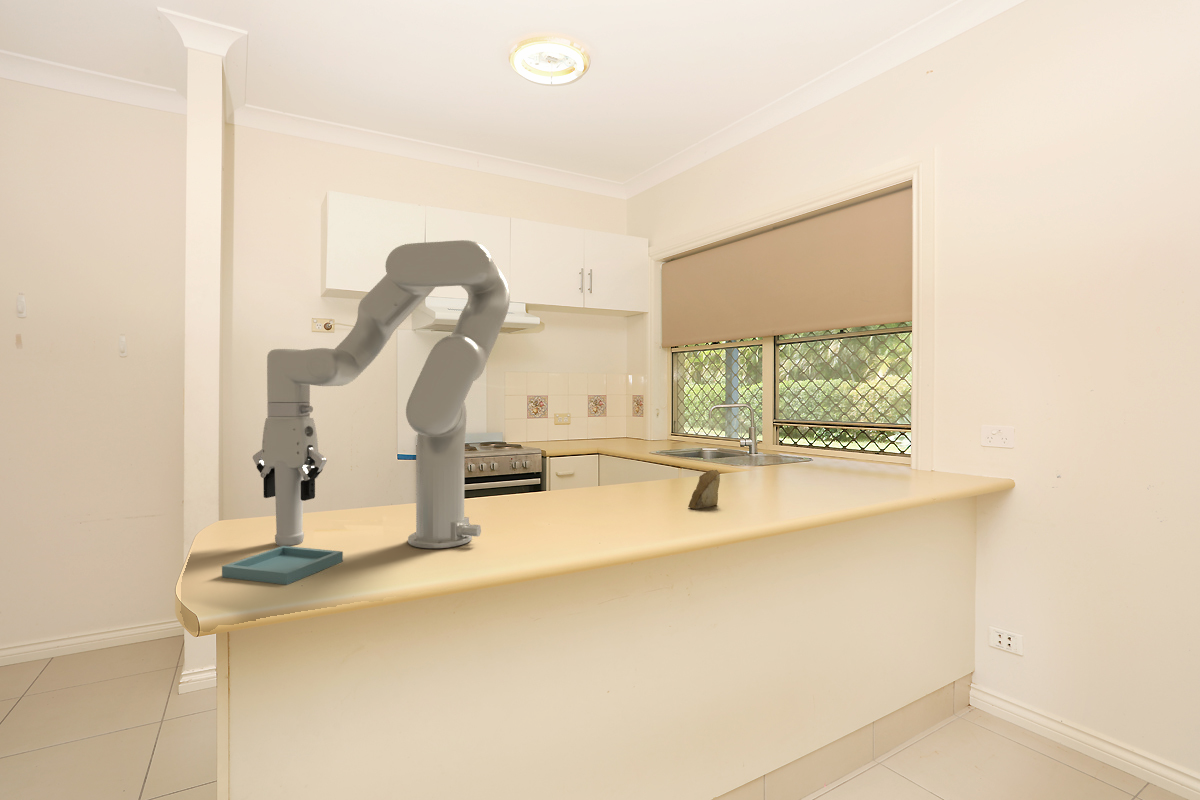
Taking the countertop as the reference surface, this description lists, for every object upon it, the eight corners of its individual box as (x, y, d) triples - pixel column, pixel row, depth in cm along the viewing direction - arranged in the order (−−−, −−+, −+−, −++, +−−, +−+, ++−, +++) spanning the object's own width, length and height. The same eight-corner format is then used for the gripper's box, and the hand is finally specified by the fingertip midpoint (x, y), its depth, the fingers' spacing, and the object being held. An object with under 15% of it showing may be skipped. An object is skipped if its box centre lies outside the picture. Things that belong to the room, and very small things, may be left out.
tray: (342, 561, 107) (342, 551, 107) (287, 584, 95) (287, 573, 95) (283, 555, 111) (283, 545, 111) (222, 577, 98) (221, 566, 98)
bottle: (274, 547, 116) (273, 419, 115) (275, 541, 120) (274, 417, 120) (304, 544, 118) (303, 418, 118) (303, 538, 123) (303, 417, 122)
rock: (695, 503, 151) (730, 496, 154) (683, 474, 156) (717, 467, 159) (684, 520, 160) (717, 513, 163) (673, 492, 164) (705, 486, 167)
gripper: (338, 411, 120) (339, 497, 120) (268, 409, 125) (268, 492, 125) (311, 413, 113) (312, 504, 113) (237, 411, 117) (238, 499, 118)
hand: (289, 497), depth 119 cm, fingers open, 8 cm apart
